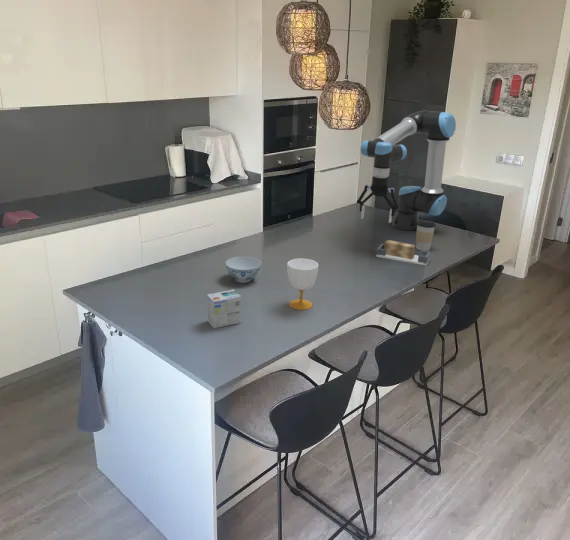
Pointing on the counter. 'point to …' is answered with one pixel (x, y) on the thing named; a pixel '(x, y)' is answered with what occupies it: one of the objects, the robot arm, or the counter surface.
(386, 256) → the holder
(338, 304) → the counter surface
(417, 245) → the coffee cup
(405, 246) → the tan rectangular block
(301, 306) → the cup
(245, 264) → the chinaware
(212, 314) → the light bulb box
